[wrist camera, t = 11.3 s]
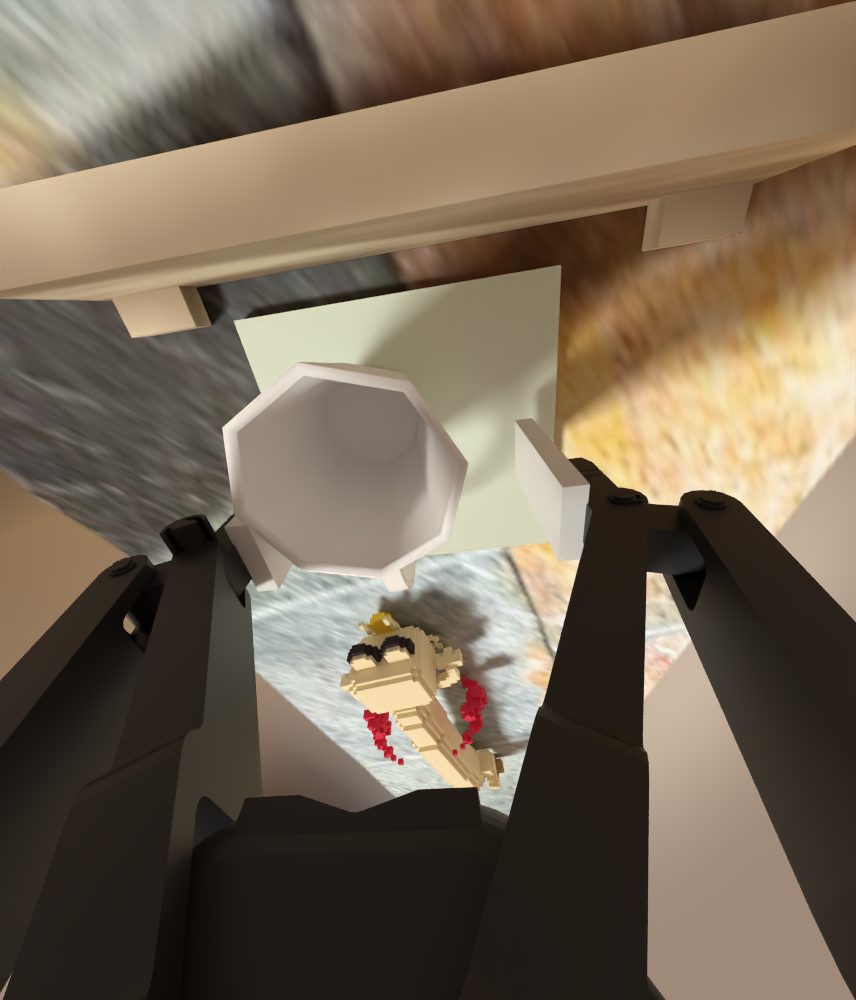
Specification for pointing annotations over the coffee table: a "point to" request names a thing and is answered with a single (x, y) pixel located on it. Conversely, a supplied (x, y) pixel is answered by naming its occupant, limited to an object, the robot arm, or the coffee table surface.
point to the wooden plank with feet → (446, 170)
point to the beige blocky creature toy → (418, 699)
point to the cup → (345, 471)
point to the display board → (446, 376)
